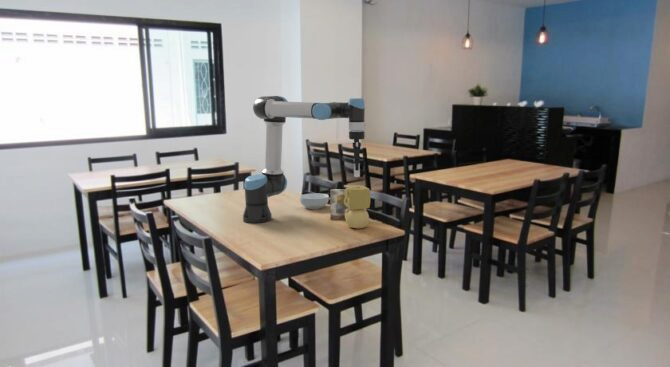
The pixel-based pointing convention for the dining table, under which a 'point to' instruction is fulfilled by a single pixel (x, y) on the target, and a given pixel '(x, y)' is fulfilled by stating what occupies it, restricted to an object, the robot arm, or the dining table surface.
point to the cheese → (357, 197)
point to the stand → (337, 204)
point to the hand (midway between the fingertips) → (356, 174)
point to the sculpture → (357, 218)
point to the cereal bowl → (314, 200)
